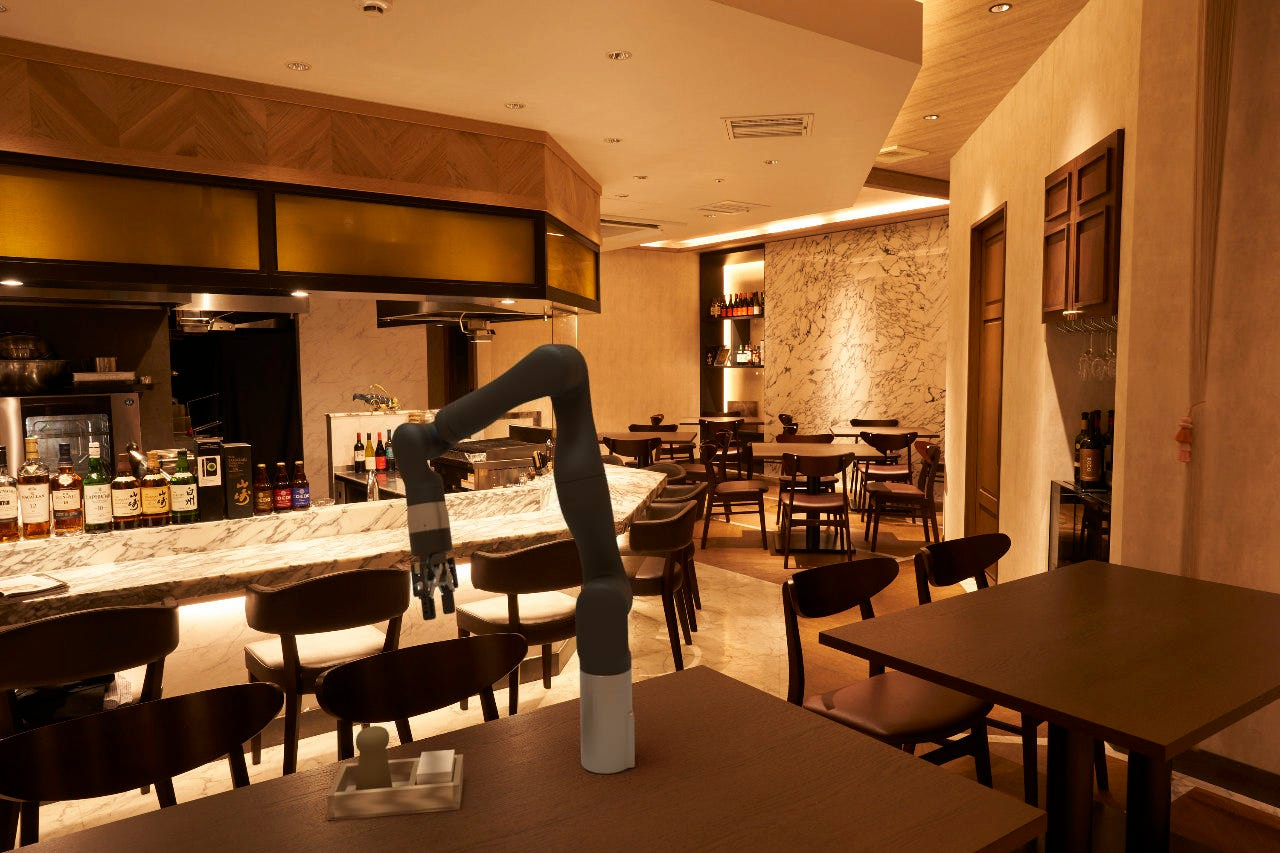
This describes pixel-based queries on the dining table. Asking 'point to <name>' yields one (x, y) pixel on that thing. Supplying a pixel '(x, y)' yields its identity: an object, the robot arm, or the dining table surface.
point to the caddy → (400, 788)
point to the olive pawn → (373, 759)
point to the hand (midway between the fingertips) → (440, 616)
